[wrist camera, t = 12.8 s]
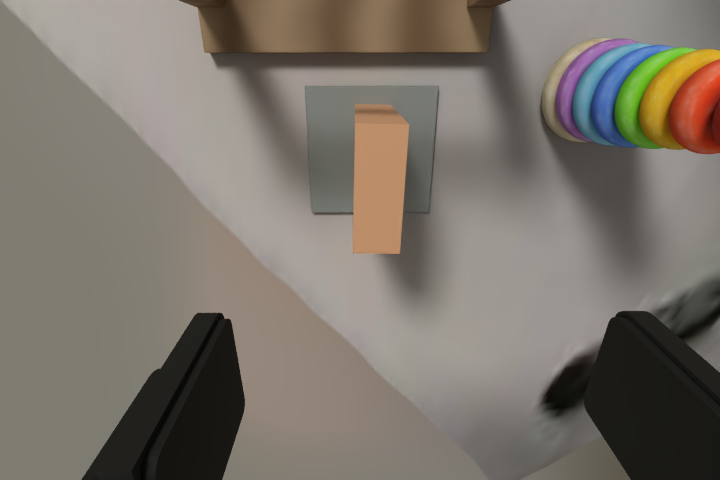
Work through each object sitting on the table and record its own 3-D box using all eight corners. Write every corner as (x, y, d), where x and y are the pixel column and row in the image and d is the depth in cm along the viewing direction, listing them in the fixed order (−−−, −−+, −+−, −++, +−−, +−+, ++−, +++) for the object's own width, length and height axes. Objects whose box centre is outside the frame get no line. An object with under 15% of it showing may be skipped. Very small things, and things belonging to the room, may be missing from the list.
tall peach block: (390, 104, 32) (409, 124, 21) (386, 196, 36) (399, 253, 25) (355, 103, 32) (355, 123, 21) (353, 195, 36) (352, 253, 25)
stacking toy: (553, 156, 35) (745, 243, 18) (524, 71, 32) (721, 77, 15) (642, 112, 33) (946, 160, 16) (620, 18, 30) (964, -44, 13)
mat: (437, 85, 32) (438, 86, 32) (428, 210, 37) (428, 211, 36) (305, 86, 32) (304, 86, 32) (312, 211, 37) (311, 212, 36)
